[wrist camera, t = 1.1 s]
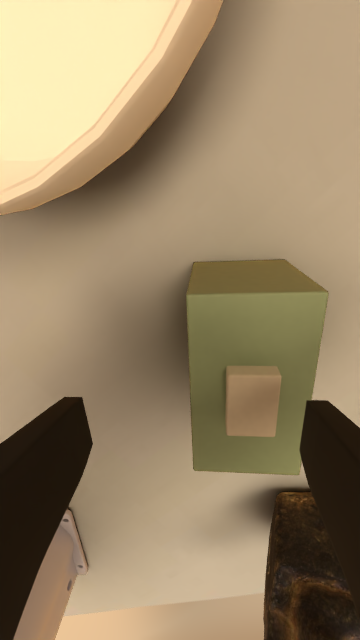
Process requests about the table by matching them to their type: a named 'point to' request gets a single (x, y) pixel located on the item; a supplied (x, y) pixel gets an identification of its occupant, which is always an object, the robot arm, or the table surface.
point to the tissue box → (251, 363)
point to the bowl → (86, 85)
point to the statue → (305, 577)
